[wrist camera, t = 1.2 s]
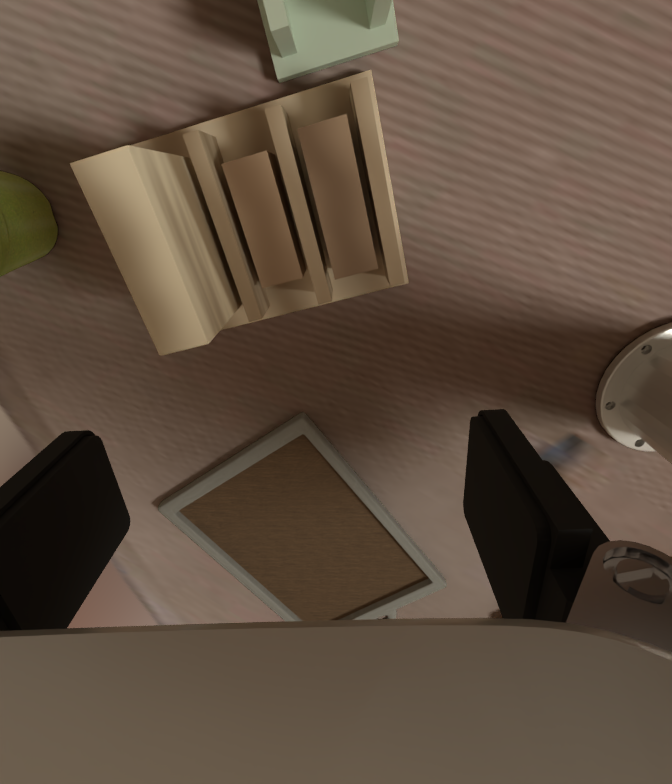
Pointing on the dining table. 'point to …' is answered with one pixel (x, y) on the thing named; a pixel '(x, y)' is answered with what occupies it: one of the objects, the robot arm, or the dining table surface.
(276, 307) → the offcut rack
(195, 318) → the maple block
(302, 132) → the walnut offcut
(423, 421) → the dining table surface
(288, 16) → the green stand
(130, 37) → the dining table surface
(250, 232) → the walnut offcut
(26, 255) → the plant pot
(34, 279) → the dining table surface
